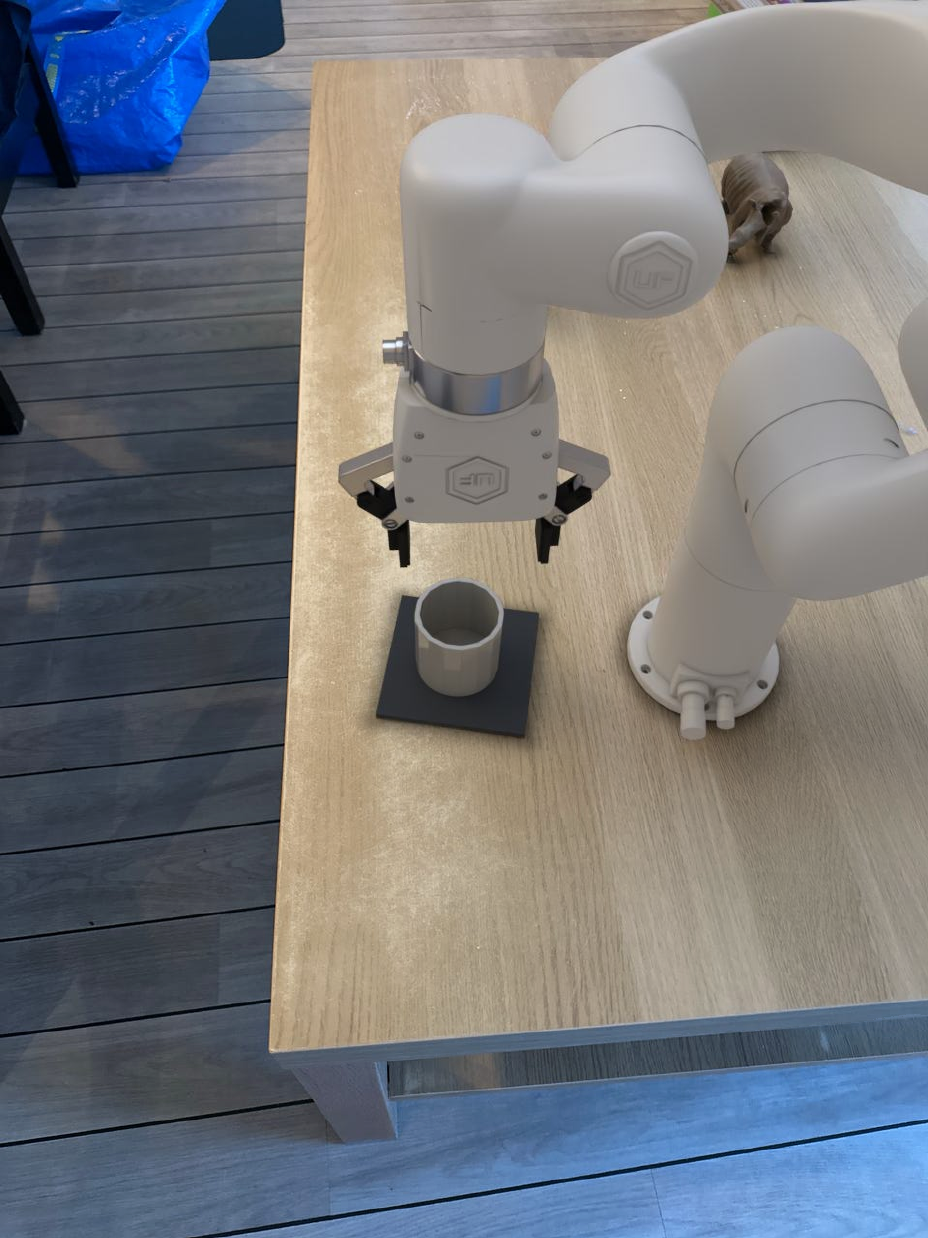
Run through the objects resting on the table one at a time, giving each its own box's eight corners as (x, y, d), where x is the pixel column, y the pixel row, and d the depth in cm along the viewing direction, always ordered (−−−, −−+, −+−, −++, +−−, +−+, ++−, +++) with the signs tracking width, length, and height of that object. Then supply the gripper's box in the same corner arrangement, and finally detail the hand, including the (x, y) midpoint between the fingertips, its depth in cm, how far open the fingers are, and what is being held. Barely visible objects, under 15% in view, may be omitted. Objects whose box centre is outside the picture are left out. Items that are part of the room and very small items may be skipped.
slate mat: (524, 738, 76) (524, 734, 76) (376, 717, 77) (375, 714, 76) (538, 616, 83) (539, 612, 83) (402, 598, 84) (401, 594, 83)
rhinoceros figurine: (781, 179, 119) (807, 117, 104) (771, 290, 119) (796, 243, 104) (717, 178, 120) (734, 116, 105) (707, 287, 120) (722, 241, 105)
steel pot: (493, 702, 77) (498, 655, 72) (410, 690, 78) (408, 643, 72) (502, 633, 81) (508, 583, 76) (423, 622, 82) (423, 572, 76)
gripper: (317, 407, 51) (348, 596, 65) (639, 399, 52) (601, 589, 66) (324, 317, 55) (352, 513, 70) (621, 310, 56) (589, 506, 70)
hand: (473, 549), depth 68 cm, fingers open, 9 cm apart
